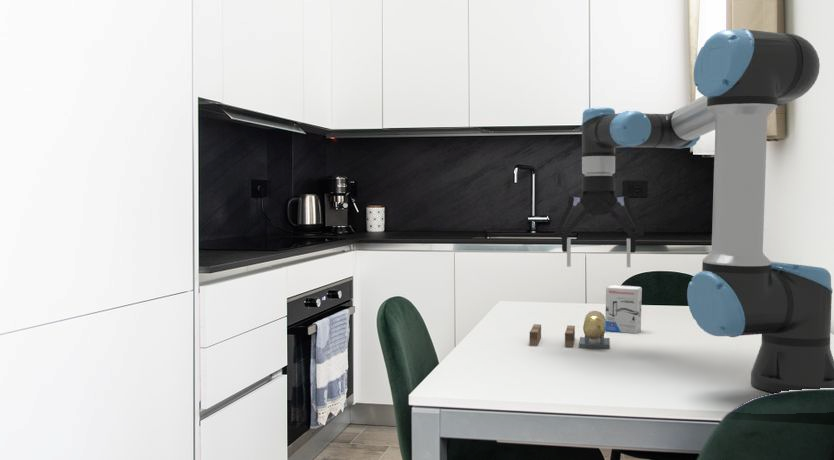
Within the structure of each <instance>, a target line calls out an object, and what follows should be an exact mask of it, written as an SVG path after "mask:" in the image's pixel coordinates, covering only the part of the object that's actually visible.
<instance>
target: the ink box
mask: <svg viewBox="0 0 834 460" xmlns="http://www.w3.org/2000/svg"><path fill="white" fill-rule="evenodd" d="M605 289H606V291H605V315H604V317H605V332H613V333H614V332H615V333H627V334H635V335H637V334H638V333H640V332H641V331H642V299H643V298H642V297H643V296H642V295H643V294H642V293H643V292H642V291H643V288H642V287H641V286H633V285H619V284H618V285H617V284H616V285H615V284H612V285H609V286H606V288H605Z"/></svg>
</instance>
